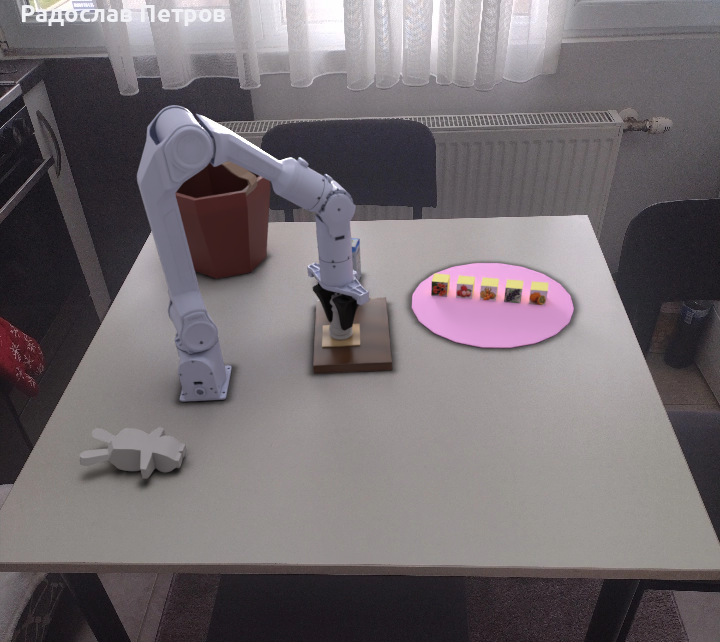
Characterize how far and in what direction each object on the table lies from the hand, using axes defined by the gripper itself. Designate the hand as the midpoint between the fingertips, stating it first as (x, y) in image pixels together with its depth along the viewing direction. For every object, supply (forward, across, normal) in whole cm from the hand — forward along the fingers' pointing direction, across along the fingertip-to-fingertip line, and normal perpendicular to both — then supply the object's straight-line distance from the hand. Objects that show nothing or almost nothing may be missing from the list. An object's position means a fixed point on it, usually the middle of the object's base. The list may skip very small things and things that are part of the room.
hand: (340, 323), depth 126 cm
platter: (+5, -10, -31) cm, 33 cm away
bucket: (+5, +44, -3) cm, 44 cm away
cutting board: (+4, +2, -4) cm, 7 cm away
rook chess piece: (+3, 0, 0) cm, 3 cm away
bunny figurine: (+4, -2, +44) cm, 44 cm away
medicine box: (+5, +18, -15) cm, 24 cm away
